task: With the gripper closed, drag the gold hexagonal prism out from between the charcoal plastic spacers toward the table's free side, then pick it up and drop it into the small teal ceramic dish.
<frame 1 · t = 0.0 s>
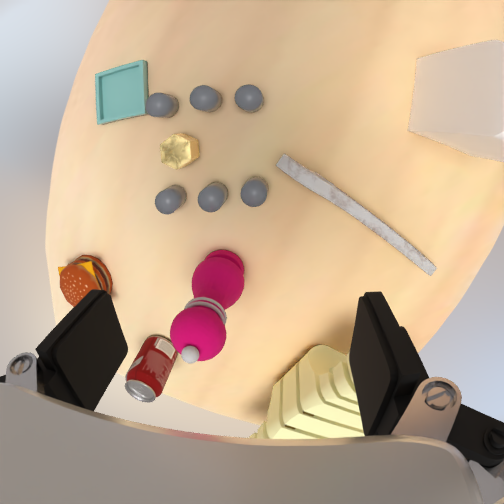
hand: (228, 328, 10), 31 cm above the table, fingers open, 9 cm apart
hamburger: (93, 276, 48), on the table
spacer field: (205, 147, 38), on the table
milk: (446, 107, 32), on the table
gold hexagonal prism: (184, 149, 38), on the table
teal dish: (123, 93, 35), on the table
soda can: (162, 346, 53), on the table
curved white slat: (365, 214, 40), on the table
slatted curved stool: (322, 374, 52), on the table
pepper mill: (223, 267, 45), on the table
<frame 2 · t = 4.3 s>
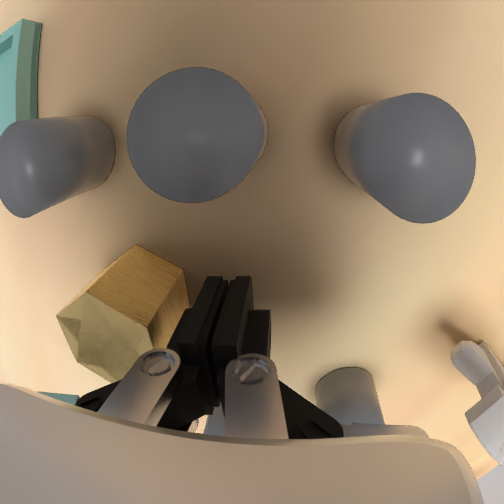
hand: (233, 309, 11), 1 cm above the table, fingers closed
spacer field: (210, 294, 12), on the table
gold hexagonal prism: (146, 291, 13), on the table, touching gripper
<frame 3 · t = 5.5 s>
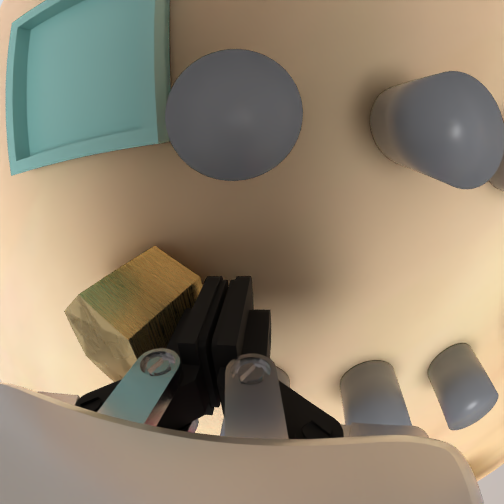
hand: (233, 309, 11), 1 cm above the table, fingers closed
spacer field: (372, 280, 12), on the table
gold hexagonal prism: (167, 294, 12), point 1 cm above the table, tilted 19°, touching gripper
teal dish: (84, 67, 9), on the table
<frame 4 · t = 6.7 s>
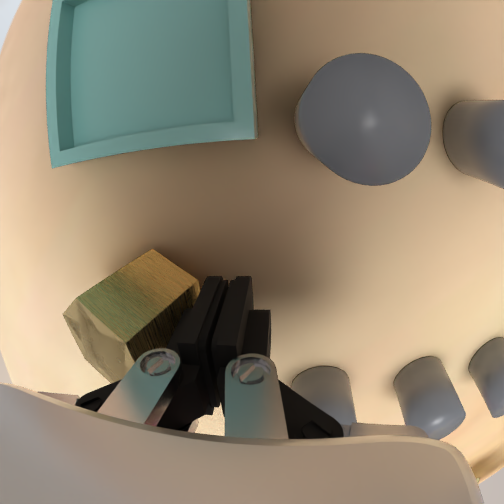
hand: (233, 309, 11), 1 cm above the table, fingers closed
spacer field: (435, 280, 11), on the table
gold hexagonal prism: (166, 297, 12), point 1 cm above the table, tilted 19°, touching gripper
teal dish: (146, 50, 9), on the table
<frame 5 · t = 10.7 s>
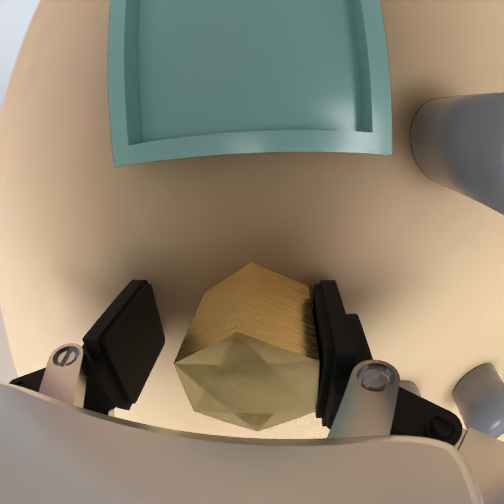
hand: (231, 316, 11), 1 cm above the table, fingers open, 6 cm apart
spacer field: (503, 293, 10), on the table
gold hexagonal prism: (258, 314, 12), on the table, touching gripper
teal dish: (244, 32, 7), on the table
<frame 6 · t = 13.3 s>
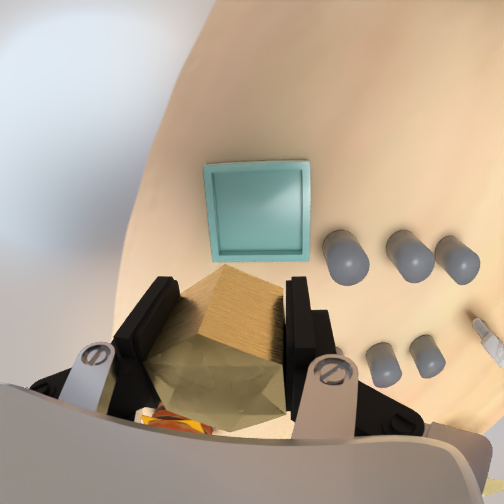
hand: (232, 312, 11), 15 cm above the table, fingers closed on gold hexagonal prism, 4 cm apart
hamburger: (186, 414, 38), on the table
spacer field: (382, 306, 27), on the table
gold hexagonal prism: (234, 316, 12), point 14 cm above the table, touching gripper
teal dish: (259, 209, 25), on the table
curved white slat: (499, 348, 29), on the table
when the fingers open (2 cm above the table, at t = 15.8 s): gold hexagonal prism drops 1 cm, resting on teal dish.
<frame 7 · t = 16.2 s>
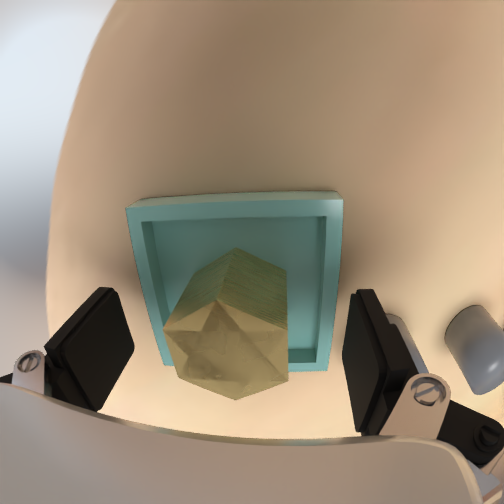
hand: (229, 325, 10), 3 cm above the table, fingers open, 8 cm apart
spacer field: (422, 401, 16), on the table
gold hexagonal prism: (241, 295, 13), resting on teal dish
teal dish: (240, 283, 13), on the table
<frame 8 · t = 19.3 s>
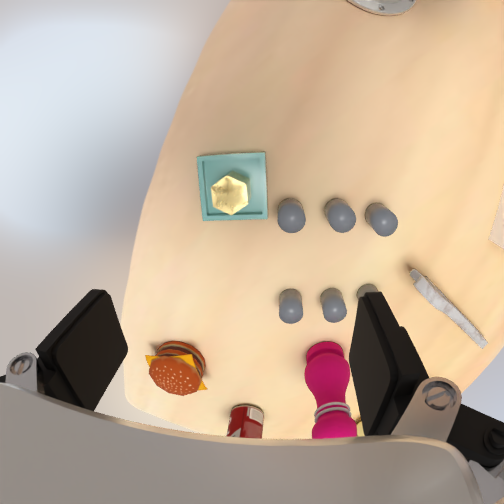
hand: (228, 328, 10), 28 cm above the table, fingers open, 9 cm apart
hamburger: (182, 358, 50), on the table
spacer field: (327, 256, 39), on the table
gold hexagonal prism: (234, 188, 36), resting on teal dish
teal dish: (234, 185, 37), on the table
soda can: (247, 411, 54), on the table
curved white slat: (449, 306, 41), on the table
pepper mill: (324, 354, 46), on the table
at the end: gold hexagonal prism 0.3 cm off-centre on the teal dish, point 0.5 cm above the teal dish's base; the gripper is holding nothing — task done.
